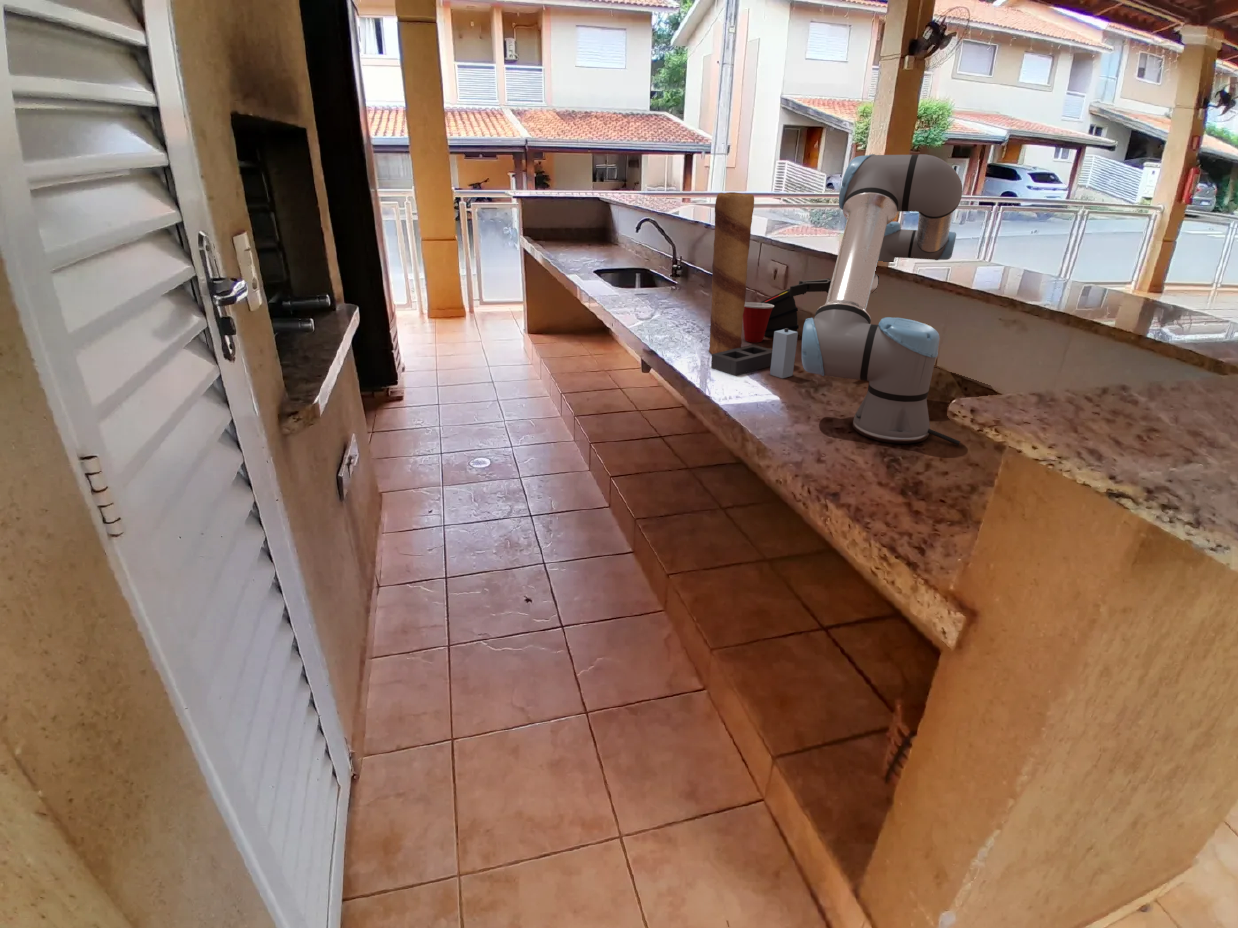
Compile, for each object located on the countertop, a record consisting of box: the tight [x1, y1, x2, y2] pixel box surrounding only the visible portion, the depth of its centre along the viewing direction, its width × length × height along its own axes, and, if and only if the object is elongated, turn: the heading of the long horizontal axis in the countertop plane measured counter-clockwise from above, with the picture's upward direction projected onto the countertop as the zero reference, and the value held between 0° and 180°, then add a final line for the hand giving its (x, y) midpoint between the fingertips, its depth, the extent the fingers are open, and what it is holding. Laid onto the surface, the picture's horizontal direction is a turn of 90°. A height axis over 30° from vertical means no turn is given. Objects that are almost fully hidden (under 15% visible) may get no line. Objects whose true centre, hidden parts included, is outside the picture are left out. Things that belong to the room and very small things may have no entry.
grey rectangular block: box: [769, 328, 799, 379], centre depth 166 cm, size 4×4×13 cm
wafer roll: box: [708, 191, 755, 355], centre depth 179 cm, size 10×11×45 cm
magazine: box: [758, 288, 800, 337], centre depth 205 cm, size 4×13×15 cm, turn 88°
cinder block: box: [710, 344, 772, 376], centre depth 175 cm, size 9×17×4 cm, turn 126°
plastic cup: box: [742, 301, 774, 343], centre depth 199 cm, size 11×11×12 cm
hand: (811, 295), depth 164 cm, fingers open, 13 cm apart
